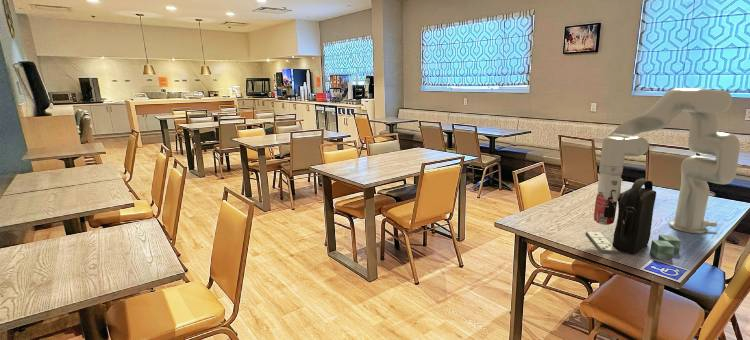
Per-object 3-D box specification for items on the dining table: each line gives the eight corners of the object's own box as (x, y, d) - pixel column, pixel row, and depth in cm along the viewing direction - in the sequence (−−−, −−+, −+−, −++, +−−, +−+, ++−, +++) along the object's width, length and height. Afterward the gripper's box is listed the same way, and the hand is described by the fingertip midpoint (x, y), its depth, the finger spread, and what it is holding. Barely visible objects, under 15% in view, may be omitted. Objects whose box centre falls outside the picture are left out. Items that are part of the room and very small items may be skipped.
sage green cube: (664, 253, 142) (667, 241, 141) (672, 259, 137) (674, 246, 136) (649, 252, 143) (651, 240, 142) (656, 258, 138) (658, 245, 137)
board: (600, 234, 159) (600, 232, 159) (617, 253, 142) (618, 250, 142) (585, 233, 160) (586, 231, 160) (601, 252, 143) (601, 249, 143)
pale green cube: (671, 247, 146) (673, 235, 145) (678, 253, 142) (681, 240, 140) (657, 246, 147) (659, 234, 146) (663, 252, 143) (665, 239, 142)
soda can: (609, 219, 152) (613, 191, 149) (617, 226, 145) (621, 196, 142) (590, 218, 153) (594, 190, 150) (596, 225, 146) (600, 195, 144)
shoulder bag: (632, 261, 137) (644, 186, 130) (605, 253, 143) (614, 181, 137) (653, 244, 151) (664, 175, 144) (626, 237, 157) (636, 171, 151)
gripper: (631, 175, 135) (624, 222, 139) (612, 164, 151) (607, 207, 156) (608, 174, 136) (602, 221, 141) (592, 164, 153) (587, 206, 157)
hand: (604, 213), depth 148 cm, fingers closed on soda can, 7 cm apart
